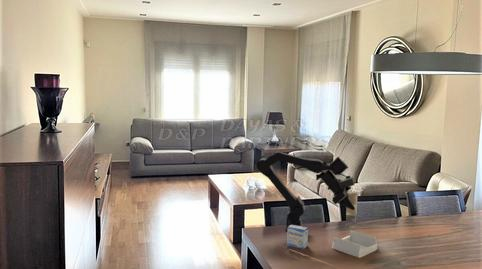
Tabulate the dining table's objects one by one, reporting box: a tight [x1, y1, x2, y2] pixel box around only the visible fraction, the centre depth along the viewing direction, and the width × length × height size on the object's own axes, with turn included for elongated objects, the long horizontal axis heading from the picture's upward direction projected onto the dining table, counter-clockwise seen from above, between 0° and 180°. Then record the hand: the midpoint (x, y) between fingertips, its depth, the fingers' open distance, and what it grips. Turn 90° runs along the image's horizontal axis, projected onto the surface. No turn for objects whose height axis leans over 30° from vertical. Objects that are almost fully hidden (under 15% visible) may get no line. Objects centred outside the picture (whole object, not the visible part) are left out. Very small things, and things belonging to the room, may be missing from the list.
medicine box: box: [286, 225, 309, 249], centre depth 175 cm, size 8×4×9 cm, turn 62°
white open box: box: [331, 230, 378, 259], centre depth 172 cm, size 13×13×6 cm
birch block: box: [345, 190, 359, 223], centre depth 188 cm, size 4×4×13 cm
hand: (354, 208), depth 187 cm, fingers closed on birch block, 4 cm apart
